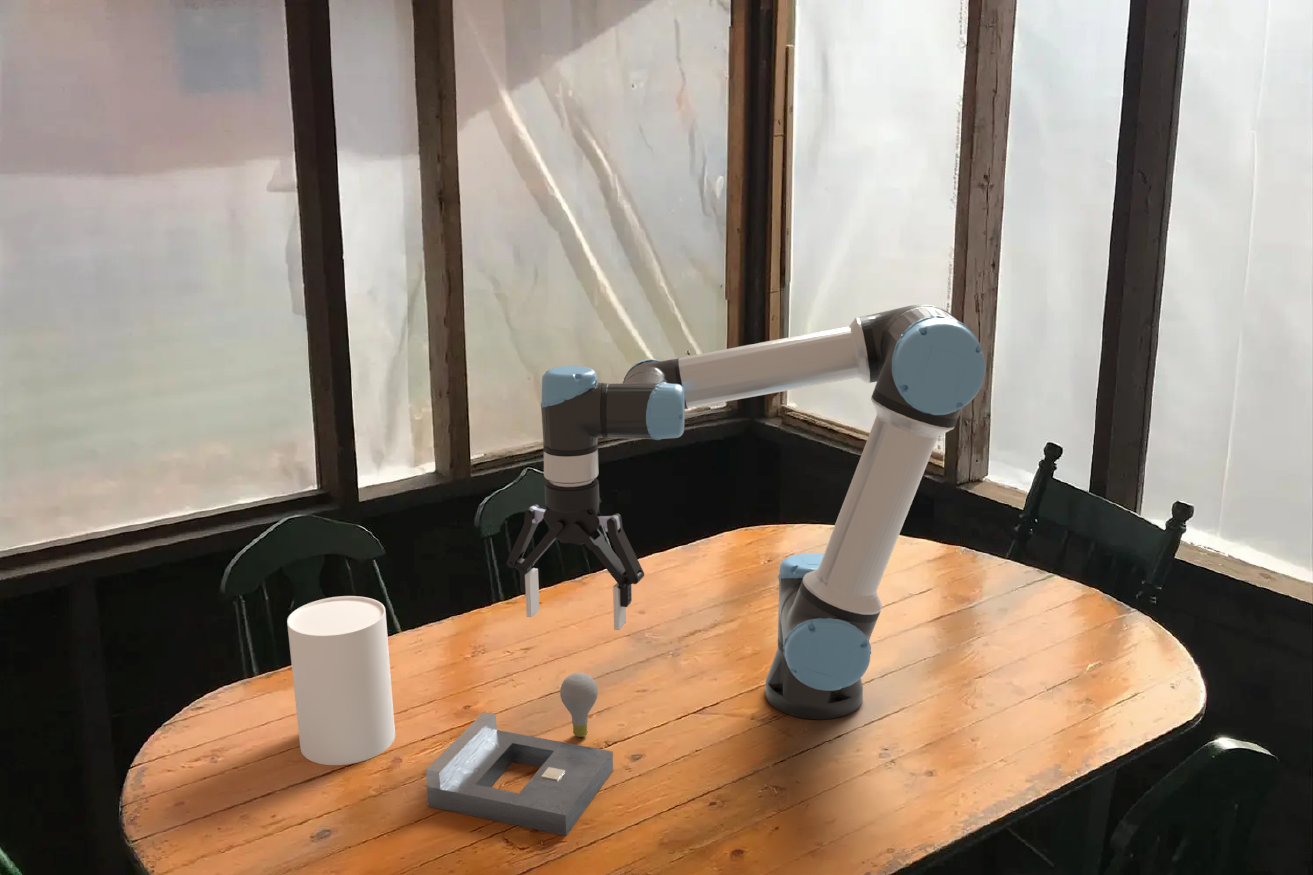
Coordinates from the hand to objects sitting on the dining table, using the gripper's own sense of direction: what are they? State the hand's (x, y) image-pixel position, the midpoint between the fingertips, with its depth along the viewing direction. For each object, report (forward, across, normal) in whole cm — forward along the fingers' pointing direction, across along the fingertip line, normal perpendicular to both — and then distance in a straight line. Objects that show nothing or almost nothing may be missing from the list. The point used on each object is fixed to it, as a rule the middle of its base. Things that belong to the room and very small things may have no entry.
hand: (576, 619), depth 164 cm
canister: (+19, +32, +12) cm, 39 cm away
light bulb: (+19, 0, 0) cm, 19 cm away
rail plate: (+19, +2, +15) cm, 24 cm away
